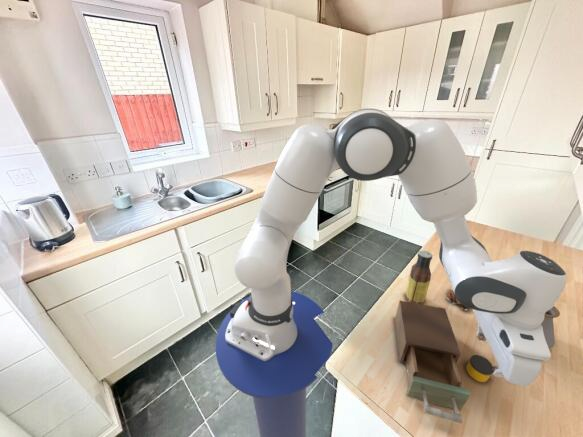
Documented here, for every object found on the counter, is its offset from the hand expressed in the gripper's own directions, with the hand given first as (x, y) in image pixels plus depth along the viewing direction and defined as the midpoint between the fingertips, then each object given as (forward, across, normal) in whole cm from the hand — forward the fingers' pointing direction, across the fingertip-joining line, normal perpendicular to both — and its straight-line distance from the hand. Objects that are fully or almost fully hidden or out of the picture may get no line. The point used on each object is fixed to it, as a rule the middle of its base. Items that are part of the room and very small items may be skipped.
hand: (488, 355), depth 60 cm
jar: (+8, 0, 0) cm, 8 cm away
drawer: (+7, +7, -13) cm, 16 cm away
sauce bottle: (+8, -23, -12) cm, 27 cm away
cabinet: (+8, -5, -13) cm, 16 cm away
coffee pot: (+8, -12, +13) cm, 19 cm away
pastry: (+8, -28, +4) cm, 29 cm away
